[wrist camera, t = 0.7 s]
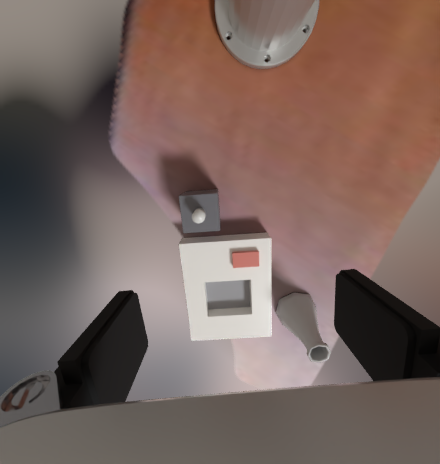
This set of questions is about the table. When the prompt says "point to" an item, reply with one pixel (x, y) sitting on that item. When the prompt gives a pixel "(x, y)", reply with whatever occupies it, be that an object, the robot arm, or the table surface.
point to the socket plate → (228, 285)
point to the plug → (200, 211)
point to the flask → (303, 324)
